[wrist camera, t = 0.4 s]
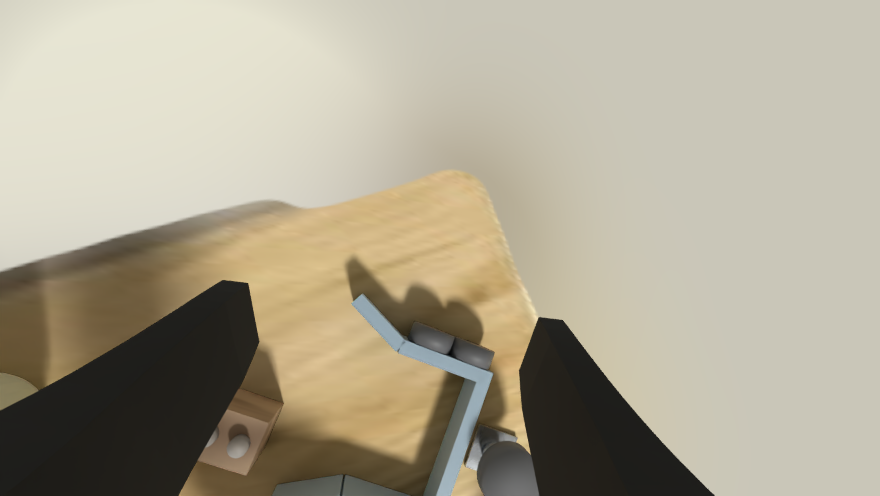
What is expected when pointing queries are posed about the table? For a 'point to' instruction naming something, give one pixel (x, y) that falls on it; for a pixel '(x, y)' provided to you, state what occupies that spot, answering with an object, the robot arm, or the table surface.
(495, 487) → the spare wheel
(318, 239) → the table surface
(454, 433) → the chassis
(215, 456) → the wooden block with knobs
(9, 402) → the reusable coffee cup
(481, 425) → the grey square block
